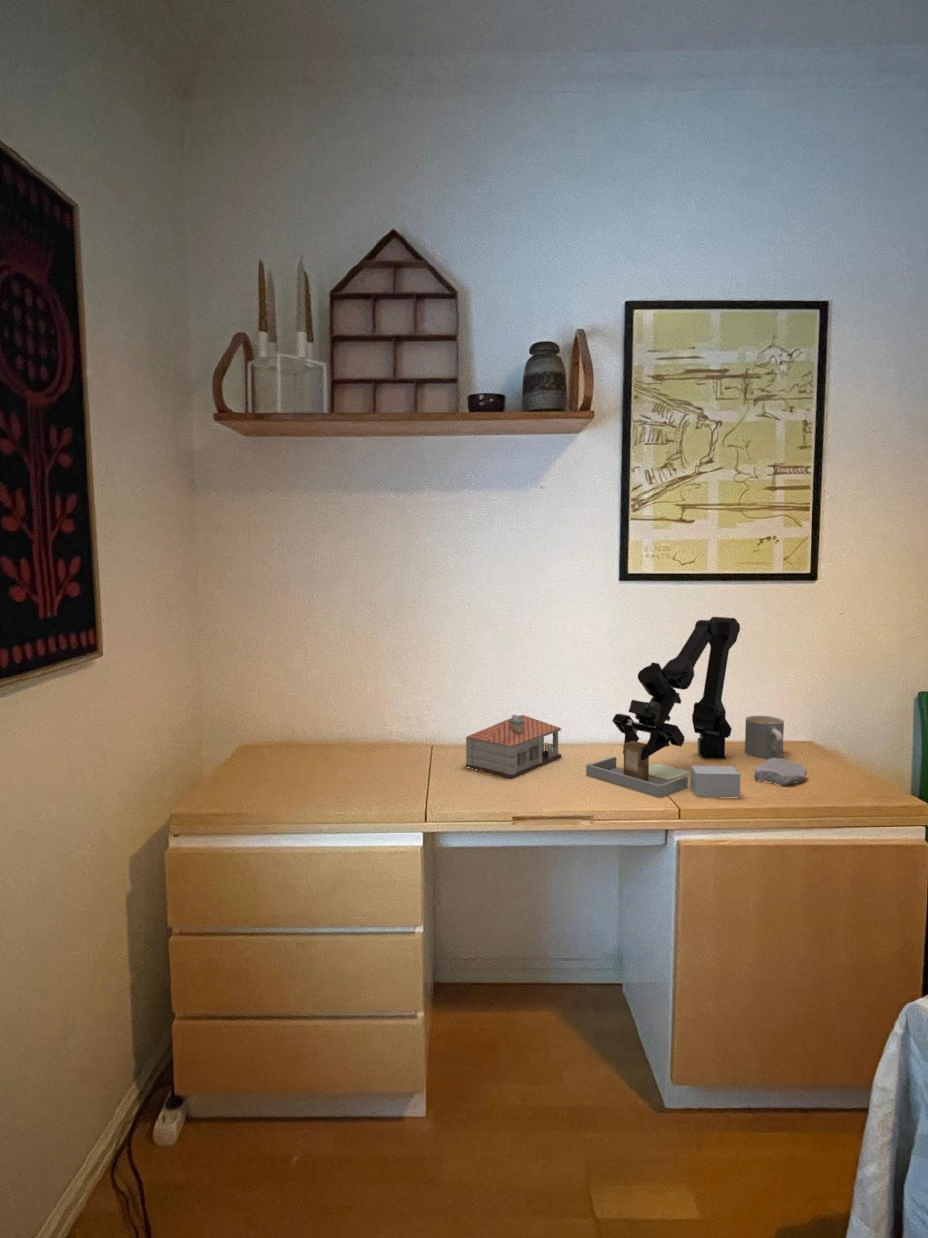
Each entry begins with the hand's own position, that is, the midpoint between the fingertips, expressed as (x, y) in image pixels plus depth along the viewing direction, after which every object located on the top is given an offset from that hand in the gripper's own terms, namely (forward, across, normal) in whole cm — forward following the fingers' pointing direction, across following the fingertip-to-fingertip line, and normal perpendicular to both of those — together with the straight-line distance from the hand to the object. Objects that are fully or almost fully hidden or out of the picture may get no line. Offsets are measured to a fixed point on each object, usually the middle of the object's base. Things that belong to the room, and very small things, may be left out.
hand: (632, 756), depth 180 cm
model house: (+12, -32, -2) cm, 34 cm away
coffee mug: (-28, +10, +38) cm, 49 cm away
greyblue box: (-1, +18, +11) cm, 21 cm away
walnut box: (+4, 0, +6) cm, 7 cm away
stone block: (-17, +23, +27) cm, 39 cm away
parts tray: (+4, 0, +6) cm, 7 cm away
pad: (-4, 0, +14) cm, 14 cm away
